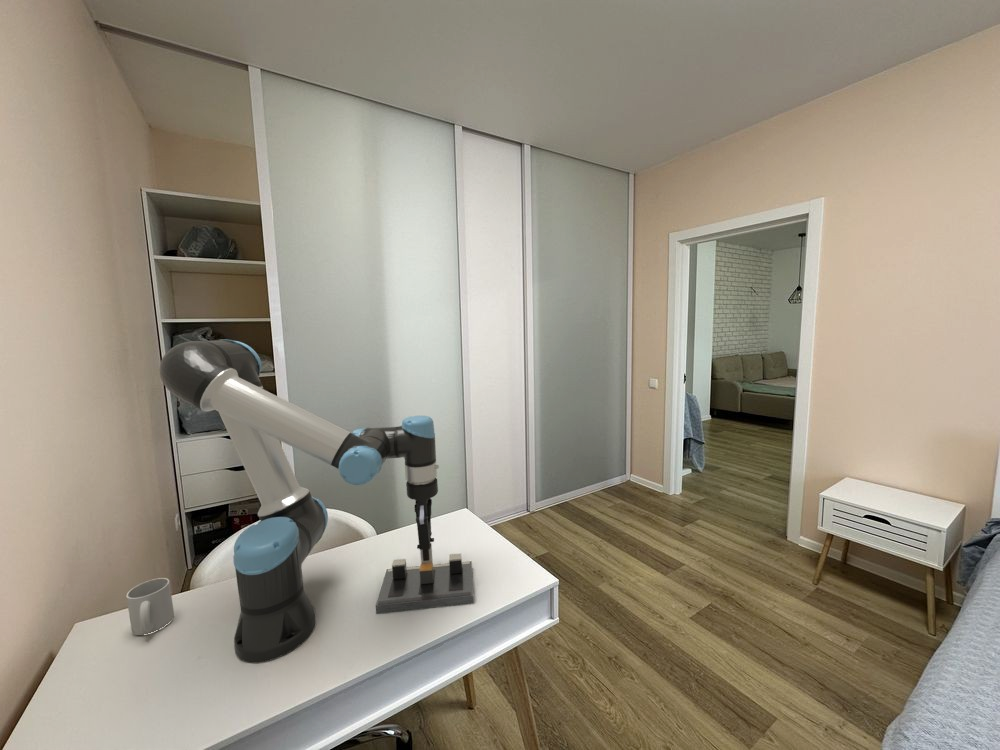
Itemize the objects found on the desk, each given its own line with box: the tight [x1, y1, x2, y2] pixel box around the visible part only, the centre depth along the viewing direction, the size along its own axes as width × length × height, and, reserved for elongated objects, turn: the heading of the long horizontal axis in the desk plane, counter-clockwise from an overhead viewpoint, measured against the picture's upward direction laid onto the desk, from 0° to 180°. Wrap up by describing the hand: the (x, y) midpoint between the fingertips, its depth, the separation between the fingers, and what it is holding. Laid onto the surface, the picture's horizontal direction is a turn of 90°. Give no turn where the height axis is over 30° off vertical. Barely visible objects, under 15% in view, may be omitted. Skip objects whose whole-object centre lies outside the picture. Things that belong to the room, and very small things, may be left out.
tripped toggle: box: [419, 562, 434, 584], centre depth 98 cm, size 3×2×4 cm
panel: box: [375, 553, 475, 615], centre depth 98 cm, size 22×14×6 cm, turn 96°
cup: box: [125, 577, 175, 636], centre depth 88 cm, size 7×10×9 cm
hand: (427, 569), depth 101 cm, fingers closed
